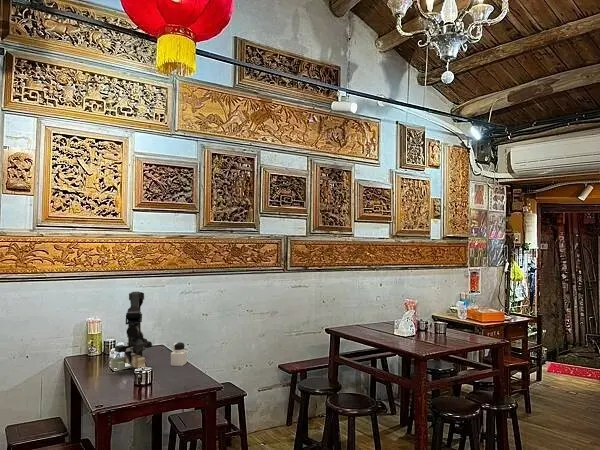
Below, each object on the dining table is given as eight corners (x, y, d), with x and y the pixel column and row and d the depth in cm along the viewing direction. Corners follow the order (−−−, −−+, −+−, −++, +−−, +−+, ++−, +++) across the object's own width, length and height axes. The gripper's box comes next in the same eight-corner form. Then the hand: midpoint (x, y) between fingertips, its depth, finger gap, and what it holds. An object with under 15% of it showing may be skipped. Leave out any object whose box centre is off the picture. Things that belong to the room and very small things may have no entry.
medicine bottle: (187, 362, 277) (187, 341, 277) (182, 366, 270) (182, 344, 270) (175, 362, 278) (175, 341, 278) (170, 365, 271) (170, 344, 271)
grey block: (110, 369, 265) (110, 358, 265) (138, 363, 276) (138, 353, 276) (114, 371, 261) (114, 360, 261) (143, 365, 272) (143, 354, 272)
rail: (124, 362, 267) (124, 352, 267) (130, 360, 269) (130, 351, 269) (138, 368, 254) (138, 358, 254) (145, 367, 256) (144, 357, 256)
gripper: (122, 338, 250) (123, 368, 250) (156, 333, 263) (156, 361, 262) (114, 335, 258) (114, 364, 258) (147, 330, 271) (147, 358, 271)
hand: (133, 362), depth 262 cm, fingers closed on rail, 3 cm apart
